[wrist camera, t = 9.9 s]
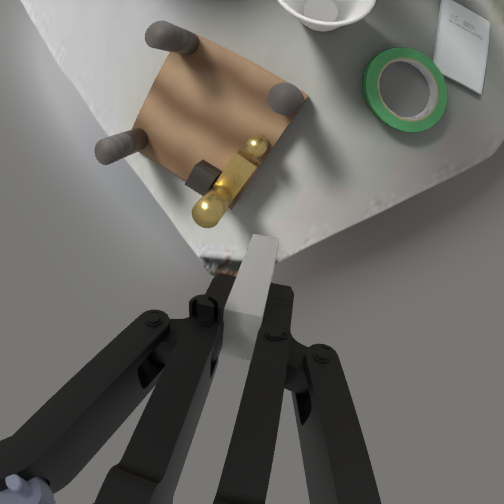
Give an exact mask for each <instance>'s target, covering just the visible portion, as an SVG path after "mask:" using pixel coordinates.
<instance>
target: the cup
mask: <svg viewBox="0 0 504 504" xmlns="http://www.w3.org/2000/svg"><path fill="white" fill-rule="evenodd" d="M278 2H279V3H280V4H281V5H282V6H283V7H284V8H285V9H286V10H287V11H288V12H289V13H291V14H292V15H294V16H295V17H297V18H298V19H299V20H300V21H301V22H302V23H303V24H304V25H305V26H307V27H308V28H310V29H313V30H316V31H331V30H334V29H336V28H338V27H340V26H343V25H348V24H351V23H354V22H357V21H358V20H360V19H362V18H364V17H365V16H366V15H367V14H368V13H369V12H370V11H371V10H372V8H373V7H374V5H375V2H376V0H278Z"/></svg>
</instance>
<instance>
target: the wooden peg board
mask: <svg viewBox="0 0 504 504" xmlns="http://www.w3.org/2000/svg"><path fill="white" fill-rule="evenodd" d="M145 41H146V43H147V45H148V46H150V47H152V48H156V49H161V50H165V51H169V52H170V53H169V55H168V57H167V58H166V60H165V62H164V64H163V66H162V68H161V69H160V71H159V73H158V75H157V77H156V79H155V81H154V83H153V85H152V87H151V89H150V91H149V93H148V95H147V97H146V99H145V101H144V103H143V106H142V108H141V110H140V112H139V114H138V116H137V119H136V121H135V123H134V126H133V128H132V130H130V131H126V132H123V133H120V134H116V135H113V136H110V137H107V138H104V139H101V140H99V141H98V143H97V144H96V146H95V156H96V158H97V160H98V161H99V162H100V163H101V164H103V165H108V164H111V163H113V162H115V161H117V160H119V159H122V158H124V157H126V156H128V155H131V154H133V153H135V152H140V153H141V154H143V155H145V156H146V157H148V158H150V159H151V160H153V161H155V162H156V163H158V164H160V165H161V166H163V167H165V168H166V169H168V170H169V171H171V172H173V173H174V174H176V175H178V176H179V177H181V178H182V179H184V180H186V183H185V185H186V186H188V187H190V188H191V189H193V190H194V191H196V192H198V193H199V194H201V195H202V196H204V195H205V194H206V193H207V192H208V191H209V190H210V189H211V188H212V187H213V185H214V184H215V182H216V181H217V179H218V178H219V177H220V175H221V174H222V172H223V171H224V169H225V168H226V166H227V165H228V164H229V162H230V161H231V159H232V158H233V156H234V155H235V154H236V152H237V151H239V150H241V151H243V152H244V153H245V154H246V152H245V149H244V146H245V143H246V142H247V140H249V139H250V138H251V137H253V136H254V135H258V134H260V135H263V136H265V137H266V138H267V139H268V142H269V146H268V149H267V150H266V152H265V153H264V154H263V155H262V156H261V157H259V158H253V159H254V160H255V161H257V162H258V163H260V164H259V165H258V166H257V168H256V169H255V170H254V172H253V173H252V174H251V176H250V177H249V178H248V180H247V181H246V183H245V184H244V185H243V187H242V188H241V189H240V191H239V192H238V193H237V195H236V196H235V198H234V200H233V201H232V203H231V204H230V206H229V208H230V209H232V208H233V207H234V205H235V203H236V202H237V200H238V199H239V197H240V196H241V194H242V193H243V191H244V190H245V188H246V186H247V185H248V183H249V182H250V180H251V179H252V177H253V176H254V174H255V173H256V171H257V170H258V168H259V167H260V165H261V164H262V162H263V161H264V159H265V158H266V156H267V155H268V153H269V152H270V150H271V149H272V147H273V146H274V144H275V143H276V141H277V140H278V139H279V137H280V136H281V134H282V133H283V131H284V130H285V128H286V127H287V125H288V124H289V123H290V121H291V120H292V118H293V117H294V115H295V114H296V112H297V111H298V110H299V108H300V107H301V105H302V104H303V102H304V101H305V100H306V98H307V97H308V95H307V94H305V93H304V92H302V91H301V90H299V89H298V88H297V87H296V86H294V85H293V84H290V83H288V82H286V81H285V80H283V79H281V78H280V77H278V76H276V75H275V74H273V73H271V72H269V71H268V70H266V69H264V68H262V67H261V66H259V65H257V64H255V63H253V62H251V61H250V60H248V59H246V58H244V57H242V56H240V55H238V54H236V53H234V52H232V51H230V50H228V49H226V48H224V47H222V46H220V45H218V44H216V43H214V42H212V41H209V40H207V39H205V38H203V37H201V36H198V35H196V34H194V33H192V32H189V31H187V30H185V29H183V28H180V27H178V26H176V25H173V24H171V23H169V22H166V21H157V22H155V23H153V24H152V25H150V26H149V28H148V29H147V31H146V33H145Z"/></svg>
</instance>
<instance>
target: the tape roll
mask: <svg viewBox="0 0 504 504" xmlns="http://www.w3.org/2000/svg"><path fill="white" fill-rule="evenodd" d="M392 62H405V63H409V64H411V65H413V66H414V67H416V68H417V69H418V70H419V71H420V72H421V73H422V74H423V75H424V77H425V79H426V81H427V83H428V86H429V100H428V103H427V106H426V107H425V109H424V110H423V111H422V112H421V113H419V114H418V115H416V116H413V117H400V116H398V115H397V114H395V113H394V112H393V111H391V110H390V109H389V108H388V107H387V106H386V104H385V103H384V101H383V99H382V97H381V93H380V86H379V83H380V78H381V75H382V72H383V71H384V69H385V68H386V67H387V66H388V65H389V64H391V63H392ZM363 93H364V96H365V99H366V102H367V104H368V106H369V107H370V109H371V110H372V112H373V113H374V114H375V115H376V116H377V117H378V118H379V119H380V120H381V121H382V122H384V123H385V124H387V125H389V126H391V127H393V128H395V129H398V130H401V131H404V132H421V131H424V130H427V129H429V128H431V127H432V126H434V125H435V124H436V123H437V122H438V121H439V120H440V118H441V117H442V115H443V114H444V111H445V109H446V105H447V87H446V83H445V80H444V77H443V75H442V73H441V71H440V70H439V68H438V67H437V66H436V64H435V63H434V62H433V61H432V60H431V59H430V58H428V57H427V56H426V55H424V54H423V53H421V52H419V51H417V50H414V49H411V48H405V47H397V48H391V49H388V50H385V51H383V52H381V53H380V54H378V55H376V56H375V57H374V58H373V59H372V60H371V61H370V62H369V64H368V65H367V67H366V69H365V71H364V75H363Z"/></svg>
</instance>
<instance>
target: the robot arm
mask: <svg viewBox="0 0 504 504" xmlns="http://www.w3.org/2000/svg"><path fill="white" fill-rule="evenodd" d="M278 244H279V238H274V237H268V236H263V235H257V234H253V236H252V238H251V241H250V243H249V246H248V249H247V251H246V254H245V256H244V259H243V261H242V264H241V266H240V269H239V272H238V274H237V277H235V276H230V275H225V274H219V275H217V276H216V277H214V278H213V280H212V282H211V284H210V286H209V288H208V290H207V292H206V294H205V295H204V294H203V295H197V296H195V297H193V298H192V299H191V300H190V301H189V317H188V318H185V319H169V317H168V315H167V314H166V313H165V312H163V311H160V310H149V311H146V312H144V313H142V314H141V315H140V316H139V317H138V318H137V319H135V320H134V321H133V322H132V323H131V324H130V325H129V326H128V327H127V328H125V329H124V330H123V331H122V332H121V333H120V334H119V335H118V336H117V337H116V338H115V339H113V340H112V341H111V342H110V343H109V344H108V345H107V346H106V347H105V348H104V349H103V350H101V351H100V352H99V353H98V354H97V355H96V356H95V357H94V358H93V359H92V360H91V361H90V362H89V363H87V364H86V365H85V366H84V367H83V368H82V369H81V370H80V371H79V372H78V373H77V374H76V375H75V376H74V377H72V378H71V379H70V380H69V381H68V382H67V383H66V384H65V385H64V386H63V387H62V388H61V389H60V390H59V391H58V392H57V393H56V394H55V395H53V397H51V398H50V399H49V400H48V401H47V402H46V403H45V404H44V405H43V406H42V407H41V408H40V409H39V410H38V411H37V412H36V413H35V414H34V415H33V416H32V417H31V418H30V419H29V420H28V421H27V422H26V423H25V424H24V425H23V426H22V427H21V428H20V429H19V430H18V431H17V432H16V433H15V434H14V435H13V436H11V437H8V438H6V439H4V440H1V441H0V504H55V500H54V495H53V494H54V493H56V492H58V491H59V490H61V489H62V488H64V487H65V486H66V485H68V484H69V483H70V482H71V481H72V480H73V479H74V478H75V477H76V476H77V474H78V473H79V472H80V471H81V470H82V469H83V468H84V467H85V465H86V464H87V463H88V462H89V461H90V460H91V459H92V458H93V456H94V455H95V454H96V453H97V452H98V451H99V450H100V448H101V447H102V446H103V445H104V444H105V443H106V442H107V440H108V439H109V438H110V437H111V436H112V435H113V434H114V432H115V431H116V430H117V429H118V428H119V427H120V426H121V424H122V423H123V422H124V421H125V420H126V419H127V418H128V416H129V415H130V414H131V413H132V412H133V411H134V409H135V408H136V407H137V406H138V405H139V403H141V401H142V400H143V399H144V398H145V397H146V395H147V394H148V393H149V392H150V391H151V390H152V389H153V387H154V386H155V385H156V386H155V388H154V390H153V392H152V395H151V397H150V399H149V401H148V403H147V405H146V407H145V409H144V411H143V414H142V416H141V418H140V420H139V422H138V424H137V426H136V429H135V431H134V433H133V436H132V437H131V440H130V442H129V444H128V446H127V448H126V451H125V453H124V455H123V457H122V459H121V461H120V462H119V464H117V465H115V466H113V467H112V468H111V469H110V470H109V472H108V474H107V476H106V478H105V480H104V482H103V484H102V487H101V489H100V491H99V494H98V496H97V498H96V500H95V503H94V504H172V503H173V496H174V492H175V489H176V487H177V484H178V481H179V478H180V474H181V472H182V469H183V466H184V463H185V460H186V457H187V454H188V451H189V448H190V445H191V442H192V439H193V436H194V433H195V430H196V427H197V424H198V421H199V419H200V416H201V412H202V410H203V407H204V404H205V401H206V398H207V395H208V392H209V389H210V386H211V383H212V380H213V377H214V374H215V371H216V368H217V365H218V356H219V353H220V350H221V354H224V355H228V356H233V357H237V358H242V359H247V360H251V363H250V367H249V371H248V375H247V379H246V383H245V387H244V391H243V395H242V399H241V403H240V407H239V411H238V415H237V419H236V422H235V426H234V430H233V434H232V438H231V442H230V445H229V449H228V453H227V457H226V460H225V464H224V468H223V471H222V475H221V479H220V482H219V486H218V490H217V493H216V496H215V499H214V502H213V504H265V500H266V494H267V489H268V484H269V478H270V473H271V467H272V462H273V455H274V450H275V444H276V438H277V432H278V426H279V419H280V412H281V406H282V399H283V392H284V388H286V389H288V390H290V391H292V398H293V404H294V410H295V415H296V422H297V427H298V433H299V439H300V445H301V451H302V457H303V463H304V469H305V475H306V482H307V488H308V494H309V500H310V504H381V501H380V497H379V493H378V489H377V485H376V481H375V478H374V474H373V470H372V466H371V462H370V459H369V455H368V452H367V448H366V445H365V441H364V438H363V434H362V431H361V427H360V424H359V421H358V417H357V414H356V411H355V407H354V404H353V401H352V398H351V394H350V391H349V388H348V385H347V382H346V379H345V376H344V372H343V369H342V366H341V363H340V360H339V357H338V355H337V353H336V351H335V350H333V348H331V347H330V346H327V345H325V344H314V345H312V346H310V347H306V346H304V345H302V344H300V343H298V342H297V341H296V340H295V339H294V338H293V337H292V335H291V333H290V325H291V317H292V307H293V298H294V293H293V291H292V289H291V287H290V286H285V285H279V284H274V283H271V282H272V277H273V272H274V266H275V261H276V256H277V250H278Z"/></svg>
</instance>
